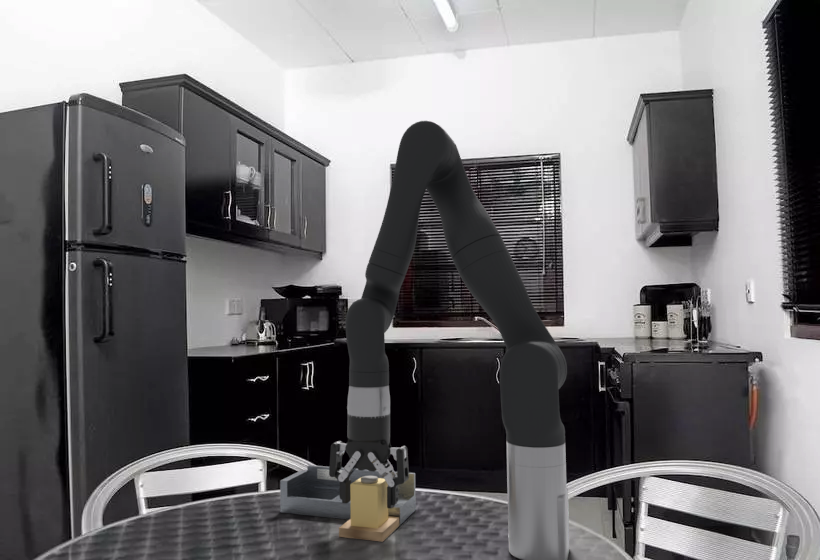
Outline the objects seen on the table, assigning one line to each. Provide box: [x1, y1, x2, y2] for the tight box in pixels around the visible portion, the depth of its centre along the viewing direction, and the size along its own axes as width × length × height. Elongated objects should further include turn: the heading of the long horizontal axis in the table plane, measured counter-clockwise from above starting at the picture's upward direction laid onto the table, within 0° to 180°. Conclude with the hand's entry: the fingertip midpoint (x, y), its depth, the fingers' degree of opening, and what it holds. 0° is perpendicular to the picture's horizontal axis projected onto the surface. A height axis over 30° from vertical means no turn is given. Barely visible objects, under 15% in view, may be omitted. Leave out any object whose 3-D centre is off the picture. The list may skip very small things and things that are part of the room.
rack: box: [279, 464, 417, 526], centre depth 117 cm, size 24×9×7 cm, turn 71°
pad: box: [338, 516, 400, 542], centre depth 106 cm, size 8×8×2 cm
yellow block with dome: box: [350, 476, 388, 529], centre depth 106 cm, size 5×5×8 cm
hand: (368, 504), depth 106 cm, fingers open, 8 cm apart
